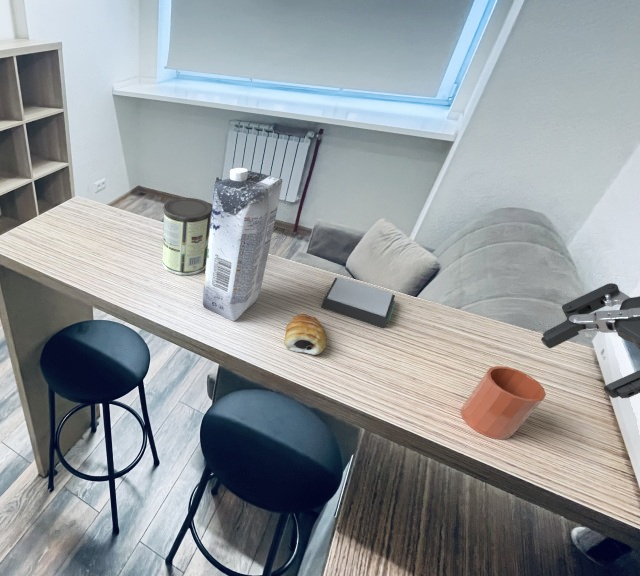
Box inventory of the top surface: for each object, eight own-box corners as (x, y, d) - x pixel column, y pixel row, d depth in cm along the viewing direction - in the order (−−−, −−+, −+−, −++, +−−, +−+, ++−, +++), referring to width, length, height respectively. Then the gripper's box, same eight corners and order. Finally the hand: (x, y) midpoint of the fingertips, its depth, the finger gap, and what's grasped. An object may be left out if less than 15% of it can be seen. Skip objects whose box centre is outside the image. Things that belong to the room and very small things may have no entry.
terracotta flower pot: (518, 423, 57) (551, 385, 53) (504, 447, 55) (538, 409, 50) (469, 397, 61) (495, 359, 57) (453, 418, 58) (480, 380, 54)
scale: (393, 304, 80) (398, 293, 79) (385, 329, 74) (391, 317, 73) (332, 286, 86) (336, 274, 84) (321, 307, 80) (324, 296, 78)
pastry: (286, 318, 77) (290, 302, 75) (324, 326, 75) (330, 310, 73) (281, 350, 70) (286, 333, 68) (323, 360, 68) (330, 343, 66)
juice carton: (262, 301, 82) (291, 169, 66) (235, 327, 75) (260, 188, 60) (223, 285, 87) (242, 158, 71) (195, 308, 80) (209, 174, 65)
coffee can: (179, 248, 100) (183, 193, 92) (214, 262, 94) (222, 205, 86) (152, 264, 94) (153, 207, 86) (188, 281, 88) (193, 222, 80)
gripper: (658, 240, 50) (518, 316, 56) (827, 312, 38) (627, 398, 45) (667, 274, 53) (534, 343, 59) (825, 350, 42) (639, 426, 48)
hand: (574, 366), depth 52 cm, fingers open, 8 cm apart
